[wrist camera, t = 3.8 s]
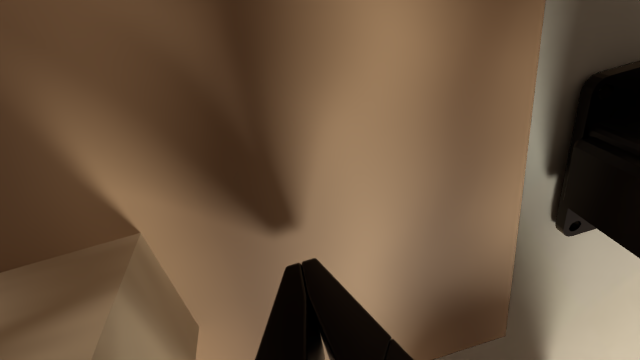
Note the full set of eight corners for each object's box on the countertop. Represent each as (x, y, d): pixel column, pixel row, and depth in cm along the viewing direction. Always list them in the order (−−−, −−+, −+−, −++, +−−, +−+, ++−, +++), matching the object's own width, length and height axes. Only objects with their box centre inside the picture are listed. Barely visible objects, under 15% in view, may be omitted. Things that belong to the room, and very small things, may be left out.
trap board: (513, -144, 8) (715, -233, 5) (484, 308, 16) (549, 394, 13) (-757, 151, 6) (-1889, 347, 3) (-72, 485, 15) (-166, 638, 11)
